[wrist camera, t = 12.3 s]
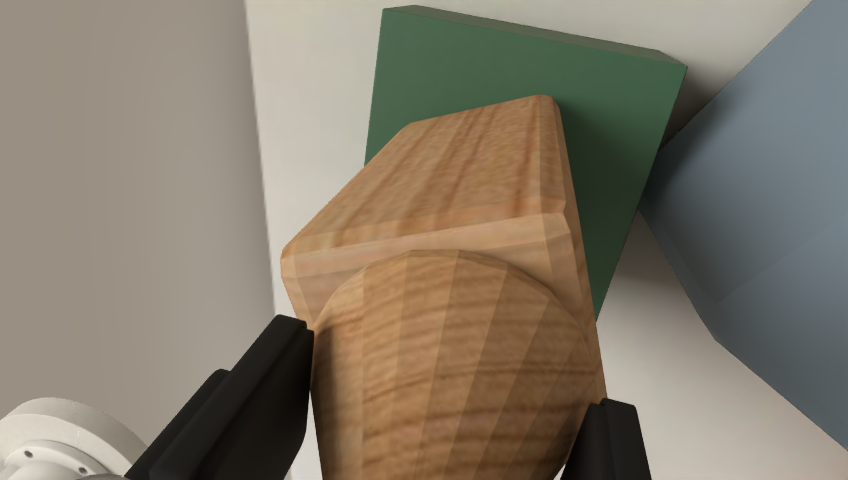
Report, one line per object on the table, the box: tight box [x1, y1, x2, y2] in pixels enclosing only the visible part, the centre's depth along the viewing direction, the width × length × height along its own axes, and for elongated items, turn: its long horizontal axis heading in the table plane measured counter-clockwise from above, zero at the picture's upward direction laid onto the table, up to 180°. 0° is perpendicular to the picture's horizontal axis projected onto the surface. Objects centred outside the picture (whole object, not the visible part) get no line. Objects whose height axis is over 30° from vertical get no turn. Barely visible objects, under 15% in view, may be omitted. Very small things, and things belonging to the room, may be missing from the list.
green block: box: [364, 5, 688, 322], centre depth 27 cm, size 12×12×6 cm
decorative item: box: [280, 94, 607, 480], centre depth 15 cm, size 7×7×20 cm
